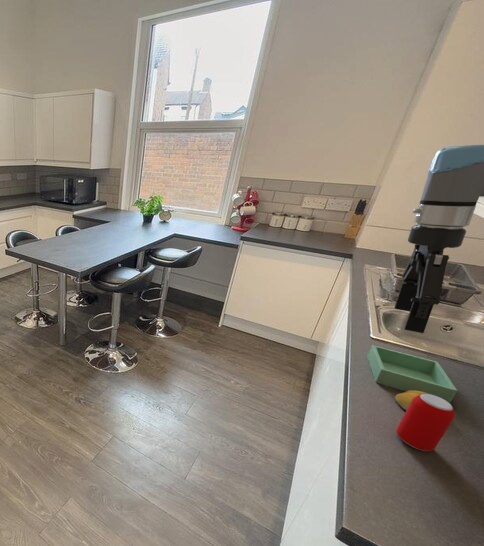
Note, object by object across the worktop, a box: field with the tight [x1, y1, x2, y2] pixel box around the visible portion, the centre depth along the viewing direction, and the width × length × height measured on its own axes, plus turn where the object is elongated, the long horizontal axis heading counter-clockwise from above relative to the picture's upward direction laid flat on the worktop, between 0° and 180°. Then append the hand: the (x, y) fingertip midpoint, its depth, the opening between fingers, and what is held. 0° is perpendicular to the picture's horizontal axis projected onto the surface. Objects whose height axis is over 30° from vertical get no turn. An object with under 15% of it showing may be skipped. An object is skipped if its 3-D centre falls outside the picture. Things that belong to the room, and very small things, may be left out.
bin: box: [366, 344, 458, 404], centre depth 90 cm, size 15×15×5 cm
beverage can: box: [395, 394, 456, 452], centre depth 68 cm, size 6×6×12 cm
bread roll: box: [394, 390, 428, 412], centre depth 79 cm, size 8×9×4 cm
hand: (407, 319), depth 70 cm, fingers open, 13 cm apart
